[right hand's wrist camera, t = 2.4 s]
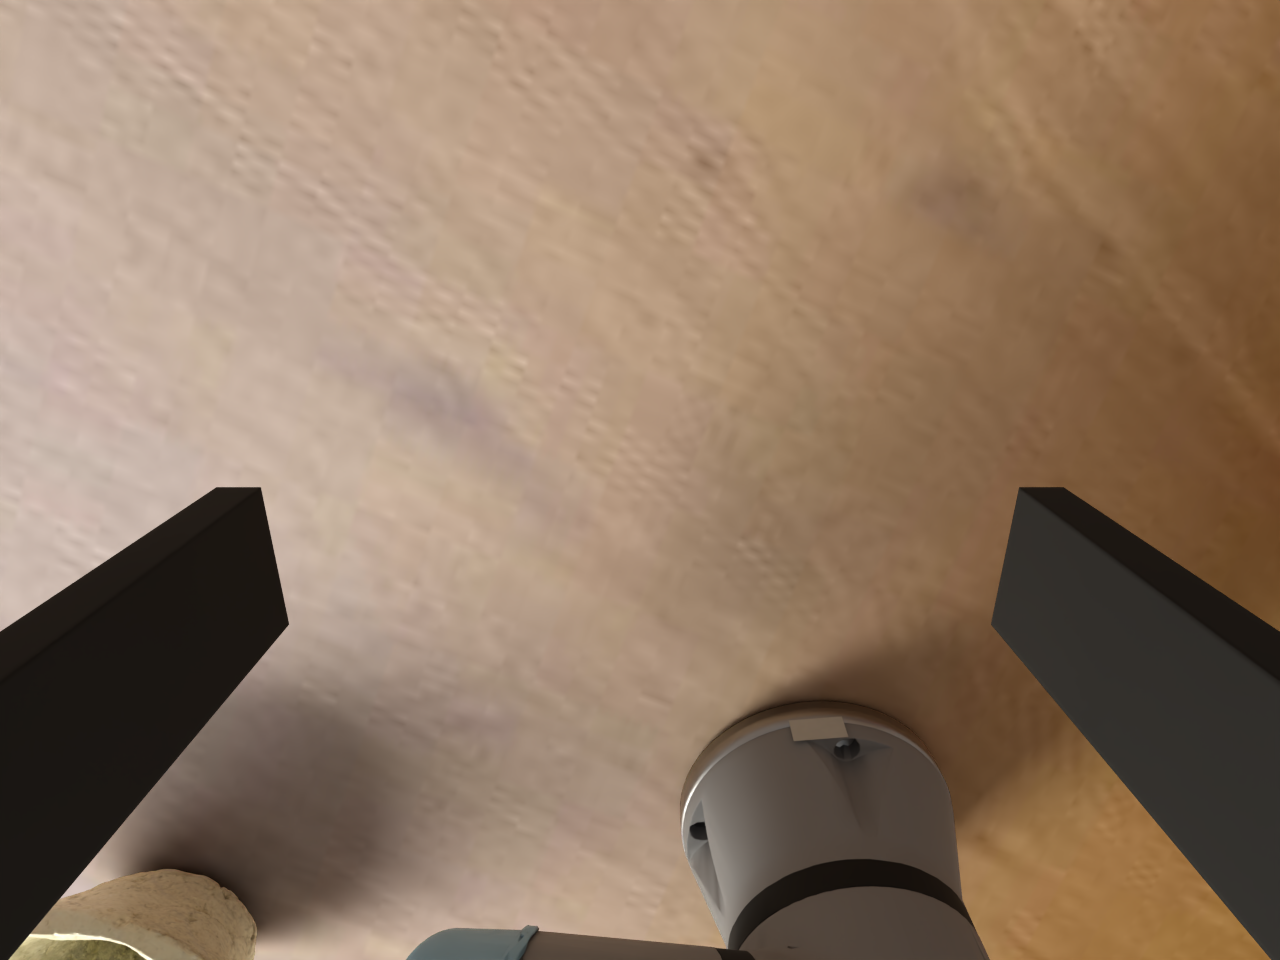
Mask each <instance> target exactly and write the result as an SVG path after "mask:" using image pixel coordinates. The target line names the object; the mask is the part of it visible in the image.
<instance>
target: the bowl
mask: <svg viewBox="0 0 1280 960" xmlns="http://www.w3.org/2000/svg"><path fill="white" fill-rule="evenodd" d="M256 936H257V927H256V923H255V921H254V919H253V917H252V916H251V914H250V913H249V912H248V910H247V909H246V907H245V906H244V905H243V904H242V902H241V901H239V900H238V897H237V896H236V895H235V894H234V893H233V892H232V891H231V890H227V889H226V888H225V887H223V888H220V886H219V884H218V883H217V882H216V881H214V880H212V879H210V878H209V877H207V876H205V875H197V874H192V873H187V872H183V871H180V870H176V869H162V870H157V871H149V872H139V873H136V874H133V875H129V876H123V877H120V878H117V879H114V880H112V881H109V882H105V883H102V884H100V885H98V886H96V887H94V888H92V889H90V890H87V891H85V892H82V893H78V894H75V895H72V896H68V897H65V898H62V899H59V900H58V901H57V902H56V904H55V905H54V906H53V907H52V908H51V910H50V911H49V912H48V913H47V914H46V916H45V917H44V918H43V919H42V920H41V922H40V923H39V924H38V925H37V926H36V928H35V929H34V930H33V931H32V932H31V934H30V935H29V936H28V937H27V938H26V940H25V941H24V942H23V943H22V944H21V946H20V947H19V948H18V949H17V950H16V952H15V953H14V954H13V955H12V956H11V957H10V959H9V960H253V959H254V955H255V944H256Z"/></svg>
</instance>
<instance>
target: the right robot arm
mask: <svg viewBox="0 0 1280 960" xmlns="http://www.w3.org/2000/svg"><path fill="white" fill-rule="evenodd" d="M288 625H289V622H288V617H287V612H286V607H285V603H284V598H283V593H282V588H281V583H280V578H279V574H278V569H277V564H276V559H275V554H274V549H273V544H272V540H271V535H270V530H269V525H268V520H267V515H266V510H265V506H264V501H263V496H262V491H261V487H216V488H215V489H213V490H212V491H210V492H209V493H207V494H206V495H204V496H203V497H201V498H200V499H198V500H197V501H195V502H194V503H192V504H191V505H189V506H188V507H186V508H185V509H183V510H182V511H180V512H179V513H177V514H176V515H174V516H173V517H171V518H170V519H168V520H167V521H165V522H164V523H162V524H161V525H159V526H158V527H156V528H155V529H153V530H152V531H150V532H149V533H147V534H146V535H144V536H143V537H141V538H140V539H138V540H137V541H135V542H134V543H132V544H131V545H129V546H128V547H126V548H125V549H123V550H122V551H120V552H119V553H117V554H116V555H114V556H113V557H111V558H110V559H108V560H107V561H106V562H104V563H103V564H101V565H100V566H98V567H97V568H95V569H94V570H92V571H91V572H89V573H88V574H86V575H85V576H83V577H82V578H80V579H79V580H77V581H76V582H74V583H73V584H71V585H70V586H68V587H67V588H65V589H64V590H62V591H61V592H59V593H58V594H56V595H55V596H53V597H52V598H50V599H49V600H47V601H46V602H44V603H43V604H41V605H40V606H38V607H37V608H35V609H34V610H32V611H31V612H29V613H28V614H26V615H25V616H23V617H22V618H20V619H19V620H17V621H16V622H14V623H13V624H11V625H10V626H8V627H7V628H5V629H4V630H2V631H1V632H0V960H9V959H10V957H11V956H12V955H13V954H14V953H15V952H16V950H17V949H18V948H19V947H20V946H21V944H22V943H23V942H24V941H25V940H26V938H27V937H28V936H29V935H30V934H31V932H32V931H33V930H34V929H35V928H36V926H37V925H38V924H39V923H40V922H41V920H42V919H43V918H44V917H45V916H46V914H47V913H48V912H49V911H50V910H51V908H52V907H53V906H54V905H55V904H56V902H57V901H58V900H59V899H60V898H61V896H62V895H63V894H64V893H65V892H66V891H67V889H68V888H69V887H70V886H71V885H72V883H73V882H74V881H75V880H76V879H77V877H78V876H79V875H80V874H81V873H82V871H83V870H84V869H85V868H86V867H87V865H88V864H89V863H90V862H91V861H92V859H93V858H94V857H95V856H96V855H97V853H98V852H99V851H100V850H101V849H102V847H103V846H104V845H105V844H106V843H107V841H108V840H109V839H110V838H111V837H112V835H113V834H114V833H115V832H116V831H117V830H118V828H119V827H120V826H121V825H122V824H123V822H124V821H125V820H126V819H127V818H128V816H129V815H130V814H131V813H132V812H133V810H134V809H135V808H136V807H137V806H138V804H139V803H140V802H141V801H142V800H143V798H144V797H145V796H146V795H147V794H148V792H149V791H150V790H151V789H152V788H153V786H154V785H155V784H156V783H157V782H158V780H159V779H160V778H161V777H162V776H163V775H164V773H165V772H166V771H167V770H168V769H169V767H170V766H171V765H172V764H173V763H174V761H175V760H176V759H177V758H178V757H179V755H180V754H181V753H182V752H183V751H184V749H185V748H186V747H187V746H188V745H189V743H190V742H191V741H192V740H193V739H194V737H195V736H196V735H197V734H198V733H199V731H200V730H201V729H202V728H203V727H204V725H205V724H206V723H207V722H208V721H209V719H210V718H211V717H212V716H213V715H214V714H215V712H216V711H217V710H218V709H219V708H220V706H221V705H222V704H223V703H224V702H225V700H226V699H227V698H228V697H229V696H230V694H231V693H232V692H233V691H234V690H235V688H236V687H237V686H238V685H239V684H240V682H241V681H242V680H243V679H244V678H245V676H246V675H247V674H248V673H249V672H250V670H251V669H252V668H253V667H254V666H255V664H256V663H257V662H258V661H259V660H260V658H261V657H262V656H263V655H264V654H265V653H266V651H267V650H268V649H269V648H270V647H271V645H272V644H273V643H274V642H275V641H276V639H277V638H278V637H279V636H280V635H281V633H282V632H283V631H284V630H285V629H286V627H287V626H288ZM991 625H992V626H993V627H994V629H995V630H996V631H997V632H998V633H999V635H1000V636H1001V637H1002V638H1003V639H1004V641H1005V642H1006V643H1007V644H1008V645H1009V647H1010V648H1011V649H1012V650H1013V651H1014V653H1015V654H1016V655H1017V656H1018V657H1019V658H1020V660H1021V661H1022V662H1023V663H1024V664H1025V666H1026V667H1027V668H1028V669H1029V670H1030V672H1031V673H1032V674H1033V675H1034V676H1035V678H1036V679H1037V680H1038V681H1039V682H1040V684H1041V685H1042V686H1043V687H1044V688H1045V690H1046V691H1047V692H1048V693H1049V694H1050V696H1051V697H1052V698H1053V699H1054V700H1055V702H1056V703H1057V704H1058V705H1059V706H1060V708H1061V709H1062V710H1063V711H1064V712H1065V714H1066V715H1067V716H1068V717H1069V718H1070V719H1071V721H1072V722H1073V723H1074V724H1075V725H1076V727H1077V728H1078V729H1079V730H1080V731H1081V733H1082V734H1083V735H1084V736H1085V737H1086V739H1087V740H1088V741H1089V742H1090V743H1091V745H1092V746H1093V747H1094V748H1095V749H1096V751H1097V752H1098V753H1099V754H1100V755H1101V757H1102V758H1103V759H1104V760H1105V761H1106V763H1107V764H1108V765H1109V766H1110V767H1111V769H1112V770H1113V771H1114V772H1115V773H1116V775H1117V776H1118V777H1119V778H1120V779H1121V780H1122V782H1123V783H1124V784H1125V785H1126V786H1127V788H1128V789H1129V790H1130V791H1131V792H1132V794H1133V795H1134V796H1135V797H1136V798H1137V800H1138V801H1139V802H1140V803H1141V804H1142V806H1143V807H1144V808H1145V809H1146V810H1147V812H1148V813H1149V814H1150V815H1151V816H1152V818H1153V819H1154V820H1155V821H1156V822H1157V824H1158V825H1159V826H1160V827H1161V828H1162V830H1163V831H1164V832H1165V833H1166V834H1167V835H1168V837H1169V838H1170V839H1171V840H1172V841H1173V843H1174V844H1175V845H1176V846H1177V847H1178V849H1179V850H1180V851H1181V852H1182V853H1183V855H1184V856H1185V857H1186V858H1187V859H1188V861H1189V862H1190V863H1191V864H1192V865H1193V867H1194V868H1195V869H1196V870H1197V871H1198V873H1199V874H1200V875H1201V876H1202V877H1203V879H1204V880H1205V881H1206V882H1207V883H1208V885H1209V886H1210V887H1211V888H1212V889H1213V891H1214V892H1215V893H1216V894H1217V895H1218V896H1219V898H1220V899H1221V900H1222V901H1223V902H1224V904H1225V905H1226V906H1227V907H1228V908H1229V910H1230V911H1231V912H1232V913H1233V914H1234V916H1235V917H1236V918H1237V919H1238V920H1239V922H1240V923H1241V924H1242V925H1243V926H1244V928H1245V929H1246V930H1247V931H1248V932H1249V934H1250V935H1251V936H1252V937H1253V938H1254V940H1255V941H1256V942H1257V943H1258V944H1259V946H1260V947H1261V948H1262V949H1263V950H1264V952H1265V953H1266V954H1267V955H1268V956H1269V957H1270V959H1271V960H1280V632H1279V631H1278V630H1276V629H1275V628H1273V627H1272V626H1270V625H1269V624H1267V623H1266V622H1264V621H1263V620H1261V619H1260V618H1258V617H1257V616H1255V615H1254V614H1252V613H1251V612H1249V611H1248V610H1246V609H1245V608H1243V607H1242V606H1240V605H1239V604H1237V603H1236V602H1234V601H1233V600H1231V599H1230V598H1228V597H1227V596H1225V595H1224V594H1222V593H1221V592H1219V591H1218V590H1216V589H1215V588H1213V587H1212V586H1210V585H1209V584H1207V583H1206V582H1204V581H1203V580H1201V579H1200V578H1198V577H1197V576H1195V575H1194V574H1192V573H1191V572H1189V571H1188V570H1186V569H1185V568H1183V567H1182V566H1180V565H1179V564H1177V563H1176V562H1174V561H1173V560H1172V559H1170V558H1169V557H1167V556H1166V555H1164V554H1163V553H1161V552H1160V551H1158V550H1157V549H1155V548H1154V547H1152V546H1151V545H1149V544H1148V543H1146V542H1145V541H1143V540H1142V539H1140V538H1139V537H1137V536H1136V535H1134V534H1133V533H1131V532H1130V531H1128V530H1127V529H1125V528H1124V527H1122V526H1121V525H1119V524H1118V523H1116V522H1115V521H1113V520H1112V519H1110V518H1109V517H1107V516H1106V515H1104V514H1103V513H1101V512H1100V511H1098V510H1097V509H1095V508H1094V507H1092V506H1091V505H1089V504H1088V503H1086V502H1085V501H1083V500H1082V499H1080V498H1079V497H1077V496H1076V495H1074V494H1073V493H1071V492H1070V491H1068V490H1067V489H1065V488H1064V487H1019V491H1018V496H1017V501H1016V506H1015V510H1014V515H1013V520H1012V525H1011V530H1010V535H1009V540H1008V544H1007V549H1006V554H1005V559H1004V564H1003V569H1002V574H1001V578H1000V583H999V588H998V593H997V598H996V603H995V607H994V612H993V617H992V622H991ZM680 817H681V832H682V842H683V847H684V851H685V855H686V857H687V860H688V863H689V866H690V868H691V870H692V873H693V875H694V877H695V879H696V881H697V883H698V886H699V888H700V890H701V892H702V894H703V897H704V899H705V901H706V903H707V905H708V908H709V910H710V912H711V914H712V916H713V919H714V921H715V923H716V925H717V927H718V930H719V932H720V934H721V936H722V938H723V940H724V943H725V945H726V948H727V949H720V948H714V947H705V946H694V945H684V944H673V943H662V942H651V941H640V940H630V939H619V938H608V937H597V936H586V935H576V934H565V933H554V932H543V931H539V928H538V926H529V925H527V926H526V927H524V928H523V929H522V930H501V929H469V928H453V929H447V930H444V931H441V932H438V933H436V934H434V935H432V936H430V937H429V938H427V939H426V940H425V941H424V942H422V943H421V944H420V945H419V946H418V947H417V948H416V949H415V950H414V951H413V952H412V953H411V954H410V955H409V956H408V958H407V959H406V960H990V959H989V957H988V955H987V953H986V950H985V948H984V946H983V944H982V942H981V940H980V937H979V936H978V934H977V932H976V929H975V927H974V925H973V923H972V921H971V918H970V916H969V914H968V912H967V909H966V907H965V905H964V903H963V900H962V892H961V882H960V872H959V863H958V853H957V843H956V833H955V824H954V813H953V807H952V802H951V797H950V792H949V790H948V787H947V784H946V782H945V780H944V778H943V776H942V774H941V772H940V770H939V768H938V766H937V764H936V762H935V761H934V759H933V757H932V755H931V753H930V751H929V750H928V748H927V747H926V746H925V744H924V743H923V742H922V741H921V740H920V739H919V737H918V736H917V735H916V734H914V733H913V732H912V731H911V730H910V729H909V728H907V727H906V726H905V725H903V724H902V723H900V722H899V721H897V720H895V719H893V718H892V717H890V716H888V715H886V714H883V713H881V712H879V711H876V710H873V709H870V708H867V707H863V706H859V705H855V704H849V703H843V702H831V701H811V702H801V703H794V704H789V705H784V706H780V707H776V708H772V709H769V710H766V711H763V712H760V713H758V714H756V715H753V716H751V717H749V718H746V719H745V720H743V721H741V722H739V723H737V724H735V725H734V726H732V727H731V728H729V729H728V730H726V731H725V732H724V733H722V734H721V735H720V736H718V737H717V738H716V739H715V740H714V741H713V742H712V743H711V744H710V745H709V746H708V747H707V748H706V749H705V750H704V751H703V752H702V753H701V755H700V756H699V757H698V759H697V760H696V761H695V763H694V764H693V766H692V768H691V770H690V772H689V774H688V776H687V778H686V781H685V783H684V786H683V790H682V794H681V802H680Z"/></svg>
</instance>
